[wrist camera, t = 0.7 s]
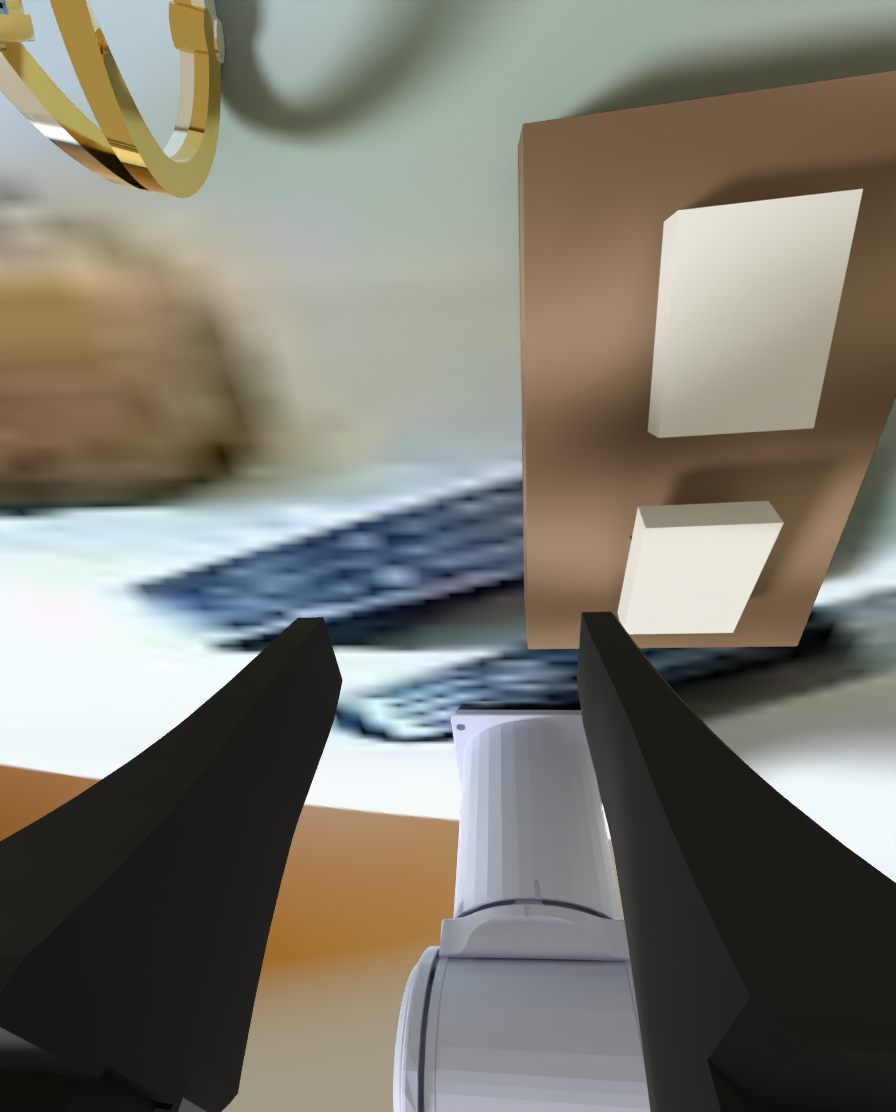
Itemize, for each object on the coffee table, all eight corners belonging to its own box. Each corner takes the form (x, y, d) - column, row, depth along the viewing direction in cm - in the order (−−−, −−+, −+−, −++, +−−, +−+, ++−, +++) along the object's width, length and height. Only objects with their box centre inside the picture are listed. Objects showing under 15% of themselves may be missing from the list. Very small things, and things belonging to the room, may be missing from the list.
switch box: (768, 596, 21) (814, 657, 18) (524, 602, 22) (528, 660, 19) (934, 88, 12) (1080, 37, 9) (518, 146, 13) (524, 118, 10)
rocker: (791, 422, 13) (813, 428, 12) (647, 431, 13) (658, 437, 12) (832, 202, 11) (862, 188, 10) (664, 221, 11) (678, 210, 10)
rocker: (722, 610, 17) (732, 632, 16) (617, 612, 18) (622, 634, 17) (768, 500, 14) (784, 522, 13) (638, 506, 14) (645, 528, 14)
